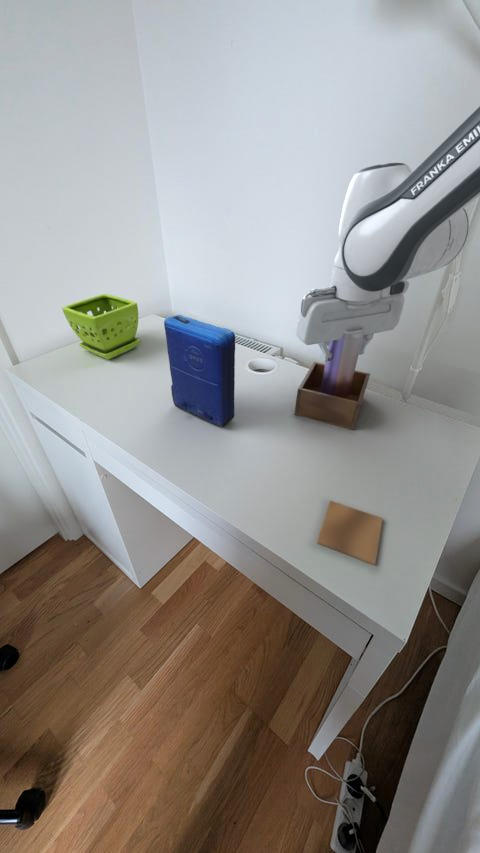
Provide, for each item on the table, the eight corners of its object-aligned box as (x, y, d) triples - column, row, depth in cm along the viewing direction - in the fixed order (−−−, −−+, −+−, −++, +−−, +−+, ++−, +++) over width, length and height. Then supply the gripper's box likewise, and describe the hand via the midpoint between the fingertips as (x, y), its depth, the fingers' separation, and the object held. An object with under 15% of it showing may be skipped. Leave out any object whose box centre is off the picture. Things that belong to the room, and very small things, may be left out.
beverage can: (317, 398, 71) (328, 329, 61) (323, 383, 75) (334, 317, 65) (346, 404, 69) (363, 334, 59) (350, 389, 73) (366, 322, 64)
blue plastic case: (170, 407, 74) (155, 318, 61) (186, 396, 77) (176, 309, 64) (222, 432, 67) (218, 338, 54) (237, 419, 71) (237, 327, 58)
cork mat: (381, 520, 51) (382, 518, 51) (374, 565, 46) (375, 563, 46) (329, 502, 54) (330, 500, 54) (317, 543, 48) (317, 541, 48)
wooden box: (363, 398, 77) (370, 373, 72) (353, 430, 68) (360, 404, 64) (310, 385, 81) (313, 361, 76) (294, 414, 72) (297, 388, 68)
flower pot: (147, 346, 96) (138, 302, 88) (106, 366, 87) (93, 319, 79) (115, 334, 102) (104, 291, 94) (74, 351, 93) (58, 306, 85)
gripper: (312, 296, 53) (303, 374, 61) (417, 282, 58) (394, 355, 67) (294, 285, 57) (287, 358, 66) (392, 272, 63) (374, 342, 71)
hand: (342, 356), depth 66 cm, fingers closed on beverage can, 6 cm apart
